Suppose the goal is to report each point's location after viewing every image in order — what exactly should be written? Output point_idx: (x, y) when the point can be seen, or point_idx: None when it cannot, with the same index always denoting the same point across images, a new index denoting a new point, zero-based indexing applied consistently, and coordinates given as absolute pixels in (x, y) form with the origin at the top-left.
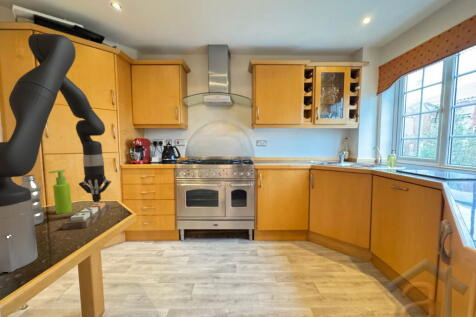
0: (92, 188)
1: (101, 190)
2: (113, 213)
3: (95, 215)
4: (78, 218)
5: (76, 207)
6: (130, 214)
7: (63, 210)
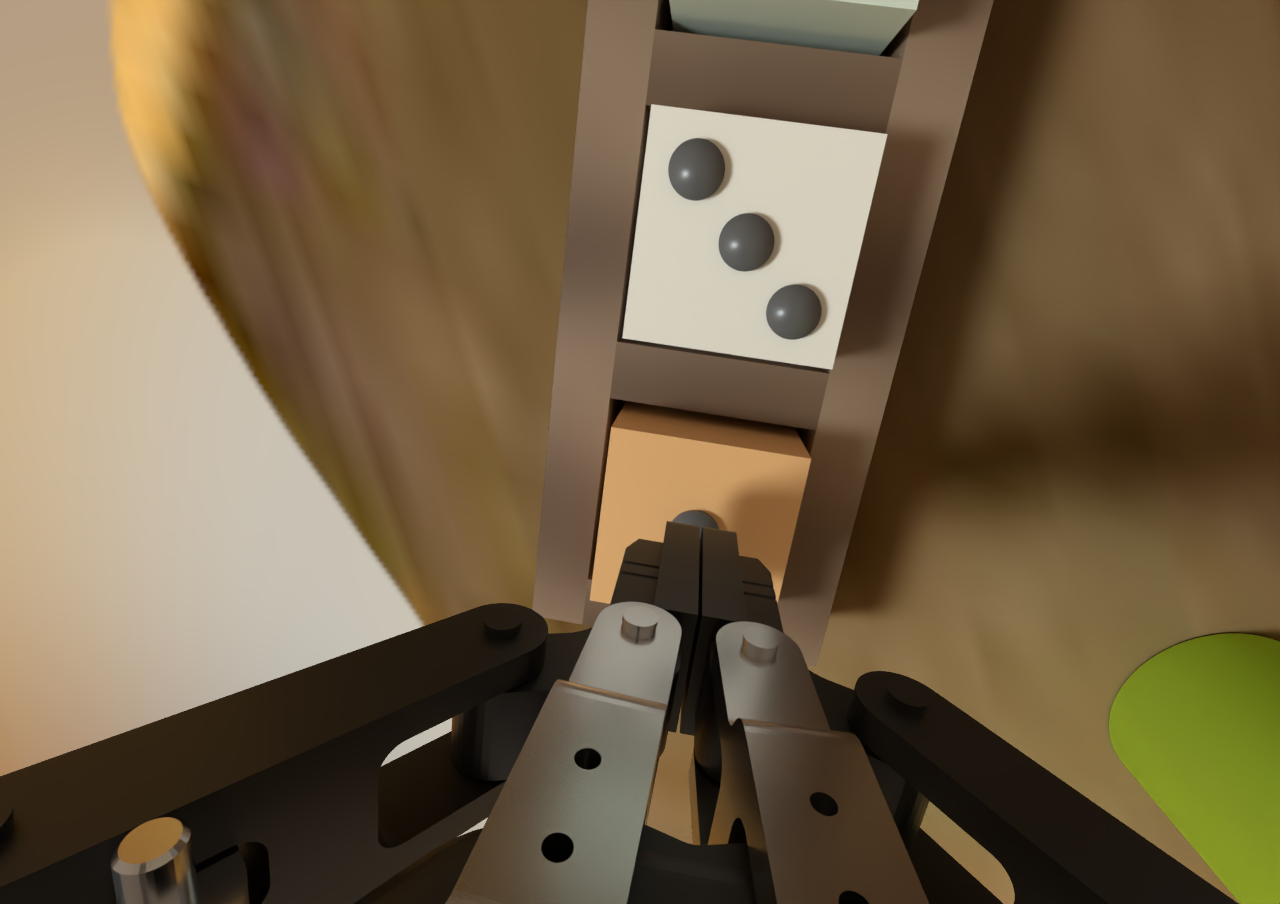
0: (761, 733)
1: (478, 644)
2: (453, 363)
3: (587, 41)
4: None
5: None
6: (179, 218)
7: (1242, 666)
